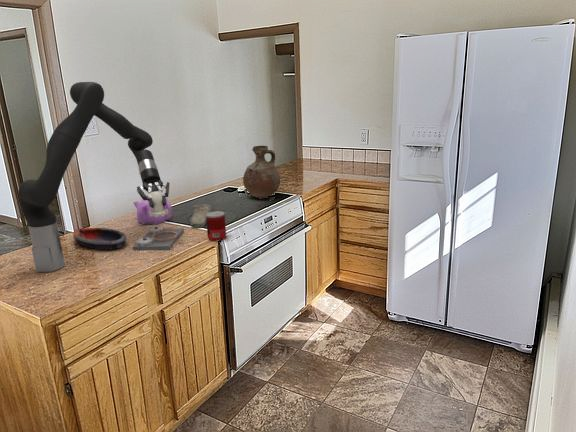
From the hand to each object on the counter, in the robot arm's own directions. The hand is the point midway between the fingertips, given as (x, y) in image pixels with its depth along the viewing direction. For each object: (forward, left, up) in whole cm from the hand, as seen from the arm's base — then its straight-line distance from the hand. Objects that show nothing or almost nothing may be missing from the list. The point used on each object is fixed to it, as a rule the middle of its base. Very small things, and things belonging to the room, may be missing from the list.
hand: (158, 205), depth 180 cm
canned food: (+7, -22, -17) cm, 28 cm away
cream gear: (+2, +1, -4) cm, 4 cm away
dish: (+3, +28, -17) cm, 33 cm away
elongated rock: (+38, -8, -17) cm, 42 cm away
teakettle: (+36, +15, -17) cm, 42 cm away
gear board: (+5, +3, -17) cm, 17 cm away
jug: (+78, -36, -17) cm, 87 cm away
